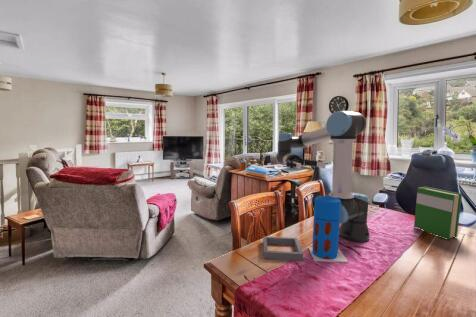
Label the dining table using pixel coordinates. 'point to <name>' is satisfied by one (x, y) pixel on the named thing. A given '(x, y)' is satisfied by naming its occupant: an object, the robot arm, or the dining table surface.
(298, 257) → the collar
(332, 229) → the thermos
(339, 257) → the mat
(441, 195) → the hardback book
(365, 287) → the dining table surface
